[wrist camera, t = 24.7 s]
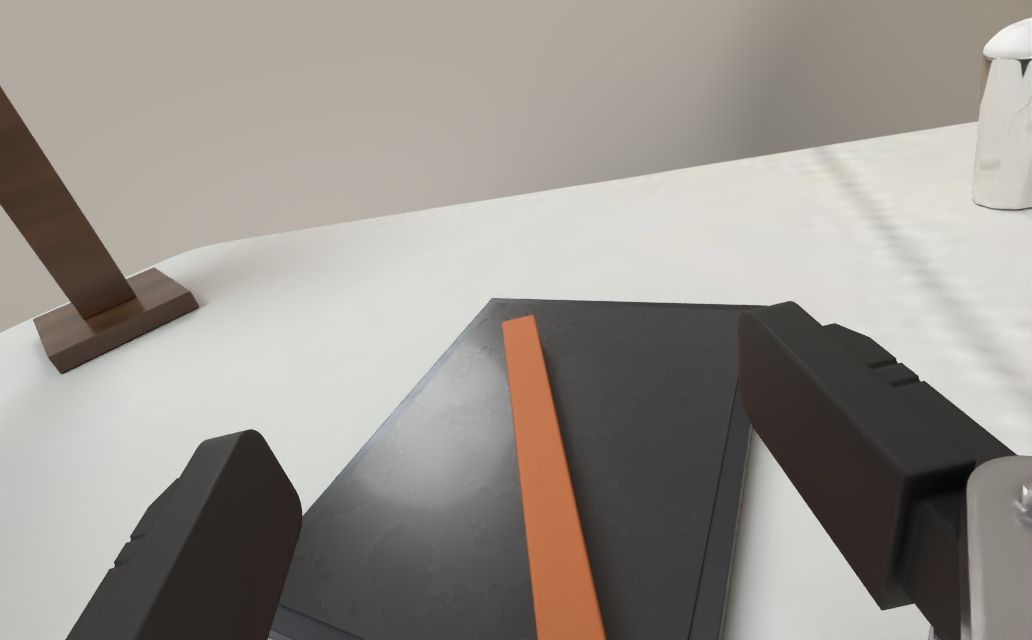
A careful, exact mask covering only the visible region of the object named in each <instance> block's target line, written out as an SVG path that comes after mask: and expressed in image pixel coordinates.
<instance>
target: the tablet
mask: <svg viewBox="0 0 1032 640" xmlns="http://www.w3.org/2000/svg"><path fill="white" fill-rule="evenodd" d="M763 307H767V306H762V305H725V304H688V303H651V302H614V301H577V300H540V299H503V298H492V299H491V300H490V301H489V302H488V303H487V305H486V306H485V307H484V308H483V309H482V310H481V312H480V313H479V314H478V315H477V316H476V317H475V318H474V320H473V321H472V322H471V323H470V324H469V325H468V326H467V328H466V329H465V330H464V331H463V332H462V333H461V335H460V336H459V337H458V338H457V339H456V340H455V341H454V343H453V344H452V345H451V346H450V347H449V348H448V350H447V351H446V352H445V353H444V354H443V355H442V356H441V358H440V359H439V360H438V361H437V362H436V363H435V364H434V366H433V367H432V368H431V369H430V370H429V371H428V373H427V374H426V375H425V376H424V377H423V378H422V379H421V381H420V382H419V383H418V384H417V385H416V386H415V388H414V389H413V390H412V391H411V392H410V393H409V394H408V396H407V397H406V398H405V399H404V400H403V401H402V402H401V404H400V405H399V406H398V407H397V408H396V409H395V411H394V412H393V413H392V414H391V415H390V416H389V417H388V419H387V420H386V421H385V422H384V423H383V424H382V426H381V427H380V428H379V429H378V430H377V431H376V432H375V434H374V435H373V436H372V437H371V438H370V439H369V440H368V442H367V443H366V444H365V445H364V446H363V447H362V449H361V450H360V451H359V452H358V453H357V454H356V455H355V457H354V458H353V459H352V460H351V461H350V462H349V464H348V465H347V466H346V467H345V468H344V469H343V470H342V472H341V473H340V474H339V475H338V476H337V477H336V479H335V480H334V481H333V482H332V483H331V484H330V485H329V487H328V488H327V489H326V490H325V491H324V492H323V493H322V495H321V496H320V497H319V498H318V499H317V500H316V502H315V503H314V504H313V505H312V506H311V507H310V508H309V510H308V511H307V512H306V513H305V514H304V515H303V517H302V527H301V531H300V535H299V538H298V541H297V545H296V548H295V551H294V554H293V558H292V561H291V564H290V568H289V571H288V574H287V577H286V581H285V584H284V587H283V590H282V594H281V597H280V600H279V603H278V607H277V610H276V613H275V616H274V620H273V623H272V626H271V629H270V633H269V636H268V637H269V638H272V639H274V640H538V637H537V628H536V620H535V611H534V602H533V593H532V584H531V575H530V566H529V558H528V549H527V540H526V531H525V522H524V513H523V504H522V495H521V487H520V478H519V469H518V460H517V451H516V442H515V433H514V425H513V416H512V407H511V398H510V389H509V380H508V371H507V363H506V354H505V345H504V336H503V327H502V322H504V321H508V320H510V319H509V312H513V311H517V310H521V309H526V312H527V316H530V315H534V317H535V321H536V325H537V329H538V333H539V337H540V341H541V346H542V350H543V355H544V359H545V364H546V368H547V373H548V377H549V382H550V386H551V391H552V396H553V400H554V405H555V409H556V414H557V418H558V423H559V427H560V432H561V436H562V441H563V445H564V450H565V454H566V459H567V463H568V468H569V472H570V477H571V481H572V486H573V490H574V495H575V499H576V504H577V508H578V513H579V517H580V522H581V526H582V531H583V535H584V540H585V544H586V549H587V553H588V558H589V562H590V567H591V571H592V576H593V580H594V585H595V589H596V594H597V598H598V603H599V607H600V612H601V616H602V621H603V625H604V630H605V635H606V639H607V640H722V637H723V630H724V623H725V617H726V610H727V603H728V596H729V589H730V582H731V575H732V568H733V561H734V554H735V547H736V540H737V533H738V526H739V519H740V513H741V506H742V499H743V492H744V485H745V478H746V471H747V464H748V457H749V450H750V443H751V436H752V429H753V426H752V425H751V423H750V421H749V419H748V417H747V415H746V412H745V409H744V406H743V403H742V399H741V393H740V375H739V342H738V321H739V316H740V315H741V313H742V312H746V311H750V310H754V309H758V308H763Z"/></svg>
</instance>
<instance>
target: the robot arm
mask: <svg viewBox="0 0 1032 640" xmlns="http://www.w3.org/2000/svg"><path fill="white" fill-rule="evenodd" d="M738 342H739V375H740V393H741V399H742V403H743V406H744V409H745V412H746V415H747V417H748V419H749V421H750V423H751V425H752V426H753V428H754V429H755V431H756V432H757V434H758V435H759V436H760V438H761V439H762V441H763V442H764V444H765V445H766V446H767V448H768V449H769V451H770V452H771V454H772V455H773V456H774V458H775V459H776V461H777V462H778V463H779V465H780V466H781V468H782V469H783V471H784V472H785V473H786V475H787V476H788V478H789V479H790V481H791V482H792V483H793V485H794V486H795V488H796V489H797V491H798V492H799V493H800V495H801V496H802V498H803V499H804V501H805V502H806V503H807V505H808V506H809V508H810V509H811V511H812V512H813V513H814V515H815V516H816V518H817V519H818V520H819V522H820V523H821V525H822V526H823V528H824V529H825V530H826V532H827V533H828V535H829V536H830V538H831V539H832V540H833V542H834V543H835V545H836V546H837V548H838V549H839V550H840V552H841V553H842V555H843V556H844V558H845V559H846V560H847V562H848V563H849V565H850V566H851V568H852V569H853V570H854V572H855V573H856V575H857V576H858V577H859V579H860V580H861V582H862V583H863V585H864V586H865V587H866V589H867V590H868V592H869V593H870V595H871V596H872V597H873V599H874V600H875V602H876V603H877V605H878V606H879V607H880V609H881V610H887V609H891V608H896V607H900V606H905V605H909V604H914V603H915V605H916V606H917V607H918V608H919V610H920V611H921V612H922V614H923V615H924V616H925V618H926V619H927V620H928V621H929V623H930V624H931V626H930V630H929V636H928V640H1032V456H1018V455H1017V454H1015V453H1014V452H1013V451H1011V450H1010V449H1009V448H1008V447H1006V446H1005V445H1004V444H1003V443H1001V442H1000V441H999V440H998V439H996V438H995V437H994V436H993V435H991V434H990V433H989V432H988V431H986V430H985V429H984V428H983V427H981V426H980V425H979V424H978V423H976V422H975V421H974V420H973V419H971V418H970V417H969V416H968V415H966V414H965V413H964V412H963V411H961V410H960V409H959V408H958V407H956V406H955V405H954V404H953V403H951V402H950V401H949V400H948V399H946V398H945V397H944V396H943V395H941V394H940V393H939V392H938V391H936V390H935V389H934V388H933V387H931V386H930V385H929V384H928V383H926V382H925V381H922V382H921V381H920V380H919V376H918V375H916V374H915V373H914V372H913V371H911V370H910V369H909V368H908V367H906V366H905V365H904V364H903V363H897V361H896V358H895V357H894V356H893V355H891V354H890V353H889V352H888V351H886V350H885V349H884V348H883V347H881V346H880V345H879V344H877V343H876V342H875V341H874V340H872V339H871V338H870V337H867V336H865V335H863V334H860V333H858V332H855V331H853V330H850V329H848V328H845V327H843V326H840V325H838V324H835V323H834V324H830V325H825V326H822V325H821V324H820V323H818V322H817V321H816V320H815V319H814V318H813V317H811V316H810V315H809V314H808V313H807V312H806V311H805V310H803V309H802V308H801V307H800V306H799V305H798V304H796V303H795V302H792V301H788V302H783V303H779V304H775V305H771V306H767V307H763V308H758V309H754V310H750V311H746V312H742V313H741V315H740V316H739V321H738ZM301 527H302V508H301V503H300V499H299V496H298V494H297V492H296V490H295V488H294V487H293V485H292V483H291V482H290V480H289V478H288V477H287V475H286V473H285V472H284V470H283V469H282V467H281V465H280V464H279V462H278V460H277V459H276V457H275V455H274V454H273V452H272V450H271V449H270V447H269V446H268V444H267V442H266V441H265V439H264V438H263V436H262V435H261V434H260V433H259V432H257V431H256V430H252V429H250V430H246V431H241V432H237V433H233V434H229V435H225V436H221V437H217V438H212V439H208V440H205V441H203V442H202V443H201V444H200V445H199V446H198V448H197V449H196V451H195V453H194V454H193V456H192V458H191V459H190V461H189V463H188V464H187V466H186V468H185V469H184V471H183V473H182V474H181V476H180V478H177V479H176V480H175V481H174V482H173V483H172V484H171V485H170V486H169V487H168V488H167V489H166V490H165V491H164V492H163V493H162V494H161V495H160V496H159V497H158V498H157V499H156V500H155V501H154V502H153V503H152V504H151V505H150V506H149V507H148V509H147V510H146V512H145V514H144V515H143V517H142V518H141V520H140V522H139V523H138V525H137V526H136V528H135V530H134V531H133V533H132V534H131V536H130V538H131V541H130V542H128V543H126V544H125V546H124V547H123V549H122V550H121V552H120V553H119V555H118V557H117V558H116V560H115V561H114V563H115V567H114V568H112V569H109V571H108V573H107V574H106V576H105V577H104V579H103V581H102V582H101V584H100V585H99V587H98V589H97V590H96V592H95V593H94V595H93V596H92V598H91V600H90V601H89V603H88V604H87V606H86V608H85V609H84V611H83V612H82V614H81V616H80V617H79V619H78V620H77V622H76V624H75V625H74V627H73V628H72V630H71V632H70V633H69V635H68V636H67V638H66V639H65V640H267V639H268V636H269V633H270V629H271V626H272V623H273V620H274V616H275V613H276V610H277V607H278V603H279V600H280V597H281V594H282V590H283V587H284V584H285V581H286V577H287V574H288V571H289V568H290V564H291V561H292V558H293V554H294V551H295V548H296V545H297V541H298V538H299V535H300V531H301Z"/></svg>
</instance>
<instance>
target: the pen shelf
mask: <svg viewBox="0 0 1032 640" xmlns="http://www.w3.org/2000/svg"><path fill="white" fill-rule="evenodd" d="M0 205H1V206H2V207H3V209H4V210H5V212H6V213H7V214H8V216H9V217H10V219H11V220H12V221H13V223H14V224H15V225H16V227H17V228H18V229H19V231H20V232H21V234H22V235H23V236H24V238H25V239H26V241H27V242H28V243H29V245H30V246H31V248H32V249H33V250H34V252H35V253H36V255H37V256H38V257H39V259H40V260H41V261H42V263H43V264H44V265H45V267H46V268H47V270H48V271H49V273H50V274H51V275H52V277H53V278H54V279H55V281H56V282H57V284H58V285H59V286H60V288H61V289H62V291H63V292H64V293H65V295H66V296H67V297H68V299H69V300H70V302H71V303H70V304H67V305H65V306H63V307H60V308H58V309H56V310H53V311H51V312H49V313H46V314H44V315H42V316H39V317H37V318H35V319H33V321H34V323H35V326H36V328H37V331H38V333H39V336H40V338H41V341H42V343H43V346H44V349H45V351H46V354H47V356H48V358H49V360H50V361H51V362H52V363H53V365H54V366H55V367H56V368H57V370H58V371H59V372H60V373H64V372H66V371H68V370H70V369H72V368H74V367H76V366H78V365H80V364H82V363H84V362H86V361H89V360H91V359H93V358H95V357H97V356H99V355H101V354H103V353H105V352H107V351H109V350H111V349H113V348H115V347H117V346H120V345H122V344H124V343H126V342H128V341H130V340H132V339H134V338H136V337H138V336H140V335H142V334H144V333H146V332H148V331H150V330H153V329H155V328H157V327H159V326H161V325H163V324H165V323H167V322H169V321H171V320H173V319H175V318H177V317H179V316H181V315H184V314H186V313H188V312H190V311H192V310H194V309H196V308H198V307H199V305H198V303H197V302H196V300H195V298H194V297H193V295H192V293H191V292H190V291H189V290H187V289H186V288H184V287H183V286H181V285H180V284H178V283H177V282H175V281H174V280H172V279H171V278H169V277H168V276H166V275H165V274H163V273H162V272H160V271H159V270H157V269H156V268H152V269H149V270H147V271H145V272H142V273H140V274H138V275H135V276H133V277H131V278H128V279H125V277H124V276H123V274H122V273H121V271H120V270H119V268H118V267H117V265H116V264H115V262H114V261H113V259H112V257H111V256H110V254H109V253H108V251H107V250H106V248H105V247H104V245H103V243H102V242H101V240H100V239H99V237H98V236H97V234H96V233H95V231H94V230H93V228H92V227H91V225H90V223H89V222H88V220H87V219H86V217H85V216H84V214H83V213H82V211H81V210H80V208H79V207H78V205H77V203H76V202H75V200H74V199H73V197H72V196H71V194H70V193H69V191H68V190H67V188H66V187H65V185H64V183H63V182H62V180H61V179H60V177H59V176H58V174H57V173H56V171H55V170H54V168H53V166H52V165H51V163H50V162H49V160H48V159H47V157H46V156H45V154H44V153H43V151H42V150H41V148H40V146H39V145H38V143H37V142H36V140H35V139H34V137H33V136H32V134H31V133H30V131H29V130H28V128H27V126H26V125H25V123H24V122H23V120H22V119H21V117H20V116H19V114H18V113H17V111H16V110H15V108H14V107H13V105H12V103H11V102H10V100H9V99H8V98H7V96H6V94H5V93H4V91H3V90H2V88H1V86H0Z"/></svg>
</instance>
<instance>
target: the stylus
mask: <svg viewBox="0 0 1032 640" xmlns="http://www.w3.org/2000/svg"><path fill="white" fill-rule="evenodd" d="M509 319H510V320H508V321H504V322H502V327H503V336H504V345H505V354H506V363H507V371H508V380H509V389H510V398H511V407H512V416H513V425H514V433H515V442H516V451H517V460H518V469H519V478H520V487H521V495H522V504H523V513H524V522H525V531H526V540H527V549H528V558H529V566H530V575H531V584H532V593H533V602H534V611H535V620H536V628H537V637H538V640H607V639H606V635H605V630H604V625H603V621H602V616H601V612H600V607H599V603H598V598H597V594H596V589H595V585H594V580H593V576H592V571H591V567H590V562H589V558H588V553H587V549H586V544H585V540H584V535H583V531H582V526H581V522H580V517H579V513H578V508H577V504H576V499H575V495H574V490H573V486H572V481H571V477H570V472H569V468H568V463H567V459H566V454H565V450H564V445H563V441H562V436H561V432H560V427H559V423H558V418H557V414H556V409H555V405H554V400H553V396H552V391H551V386H550V382H549V377H548V373H547V368H546V364H545V359H544V355H543V350H542V346H541V341H540V337H539V333H538V329H537V325H536V321H535V317H534V315H530V316H527V312H526V309H521V310H517V311H513V312H509Z"/></svg>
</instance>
